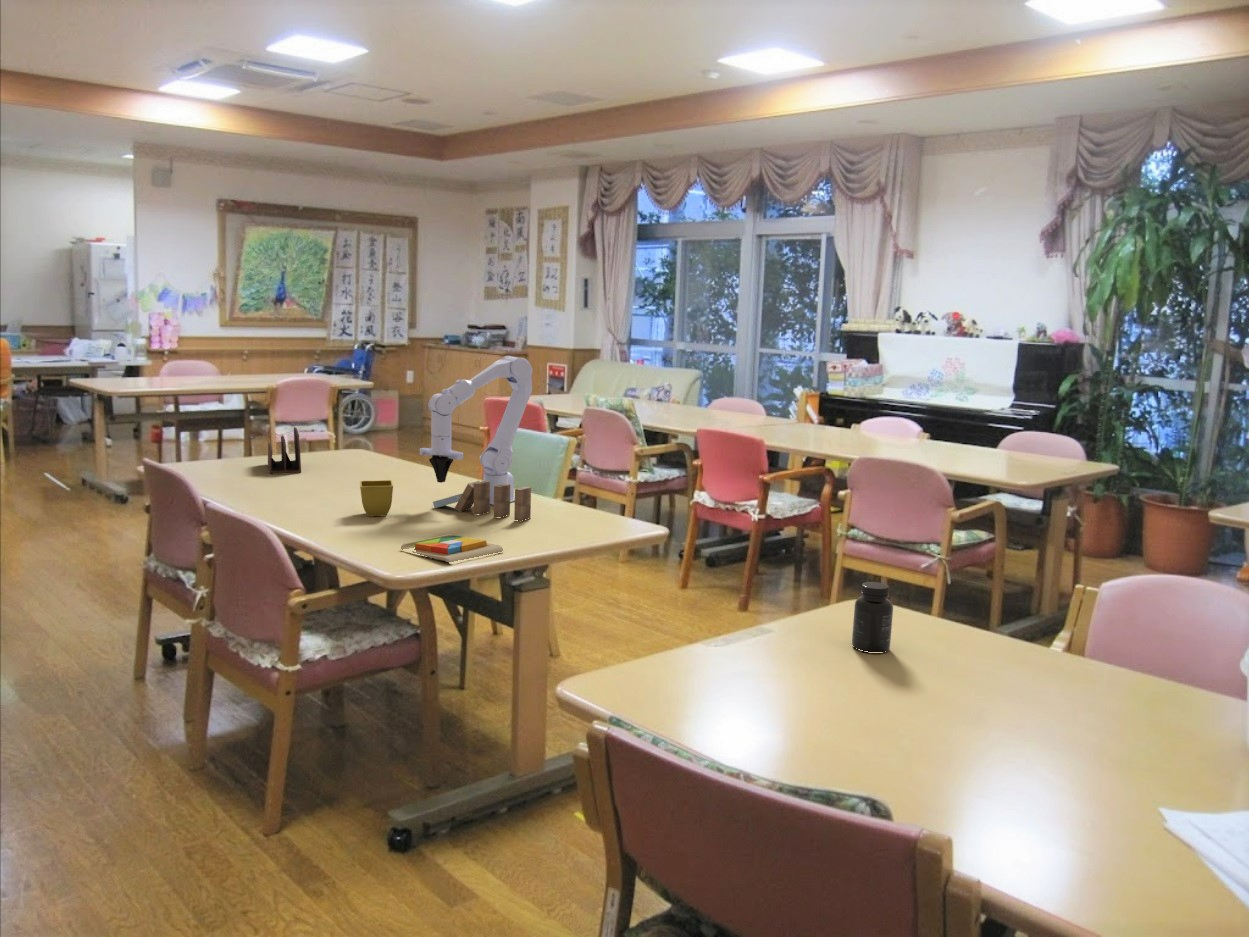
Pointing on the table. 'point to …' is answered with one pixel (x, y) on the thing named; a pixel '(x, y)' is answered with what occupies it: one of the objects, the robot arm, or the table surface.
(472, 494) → the domino
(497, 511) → the domino
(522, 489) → the domino
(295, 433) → the letter holder
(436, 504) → the blue domino
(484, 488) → the domino
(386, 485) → the flower pot
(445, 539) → the wooden puzzle
